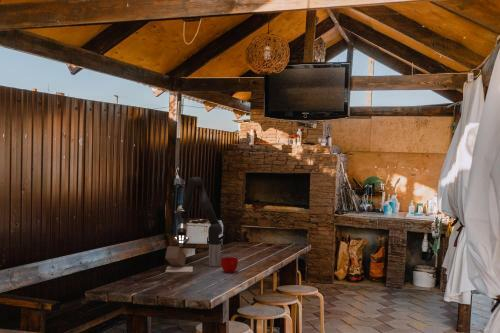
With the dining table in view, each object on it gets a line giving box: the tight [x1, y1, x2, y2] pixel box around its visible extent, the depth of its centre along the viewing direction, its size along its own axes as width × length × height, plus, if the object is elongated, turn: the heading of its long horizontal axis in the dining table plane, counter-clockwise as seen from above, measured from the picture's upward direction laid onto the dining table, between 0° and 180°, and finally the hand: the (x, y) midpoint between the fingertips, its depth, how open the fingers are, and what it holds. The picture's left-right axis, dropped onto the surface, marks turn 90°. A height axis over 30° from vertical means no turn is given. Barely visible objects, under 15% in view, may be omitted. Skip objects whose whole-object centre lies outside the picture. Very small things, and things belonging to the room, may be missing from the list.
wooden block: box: [164, 246, 187, 267], centre depth 396 cm, size 10×10×20 cm
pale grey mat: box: [165, 266, 194, 273], centre depth 391 cm, size 20×19×1 cm
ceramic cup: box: [220, 256, 239, 274], centre depth 384 cm, size 13×17×10 cm
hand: (180, 247), depth 404 cm, fingers closed
